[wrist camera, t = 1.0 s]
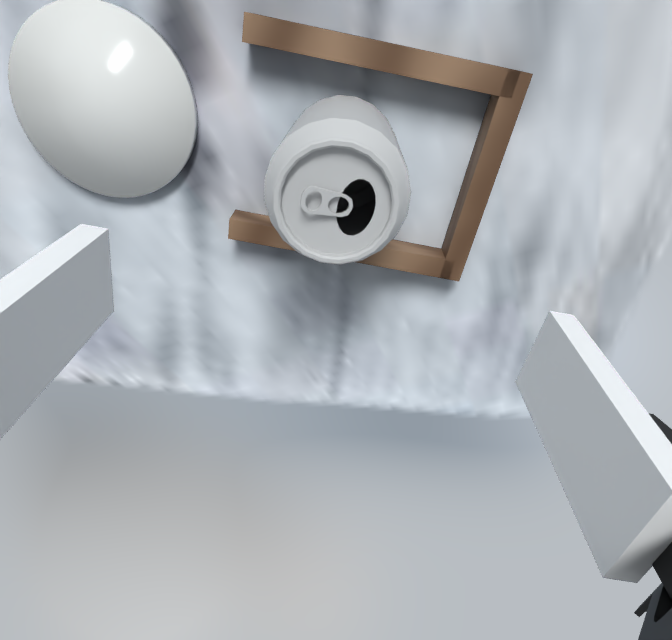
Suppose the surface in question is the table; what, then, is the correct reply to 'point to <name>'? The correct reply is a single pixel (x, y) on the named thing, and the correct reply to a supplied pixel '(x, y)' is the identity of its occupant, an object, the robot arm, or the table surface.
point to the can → (338, 182)
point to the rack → (421, 65)
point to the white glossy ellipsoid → (102, 97)
